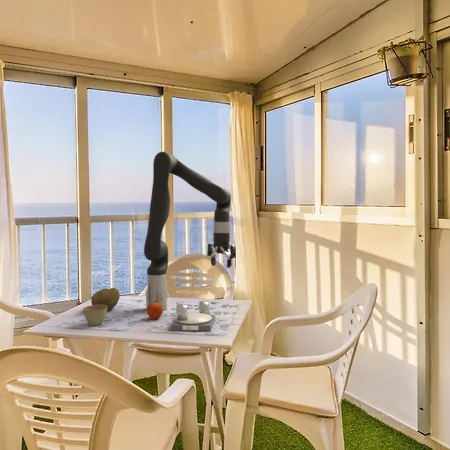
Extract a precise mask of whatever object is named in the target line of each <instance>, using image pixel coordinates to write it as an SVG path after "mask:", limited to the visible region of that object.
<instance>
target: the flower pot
mask: <svg viewBox="0 0 450 450" xmlns="http://www.w3.org/2000/svg"><path fill="white" fill-rule="evenodd" d="M107 308H108V307H107V306H106V305H92V304H91V305H87V306H85V307H83V308H82V313H83V315H84V318H85V321H86V322H87V323H88V325H89V324H90V325H89V326H91V325H98V324H101V325H102V324H103V323H104V321H105V319H106V316H107V313H108V310H107ZM98 326H99V325H98Z"/></svg>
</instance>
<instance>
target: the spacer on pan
mask: <svg viewBox="0 0 450 450" xmlns="http://www.w3.org/2000/svg"><path fill="white" fill-rule="evenodd" d="M175 308H176V310H175V311H176V313H175V314H176V317H177V320H178V321H185V320H187V319H188V317H187V314H188V304H187V303H177V304H176V307H175Z"/></svg>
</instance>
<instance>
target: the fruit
mask: <svg viewBox="0 0 450 450" xmlns="http://www.w3.org/2000/svg"><path fill="white" fill-rule="evenodd" d="M155 302H156V301H155ZM163 313H164V311H163V308H162V306H161V305H160V304H159V303H151V304H150V305H149V306H148V308H146V314H147V316H148V317H149V318H150V319H152V320H158V319H159V318H160V317H161V316H162V315H163Z"/></svg>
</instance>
